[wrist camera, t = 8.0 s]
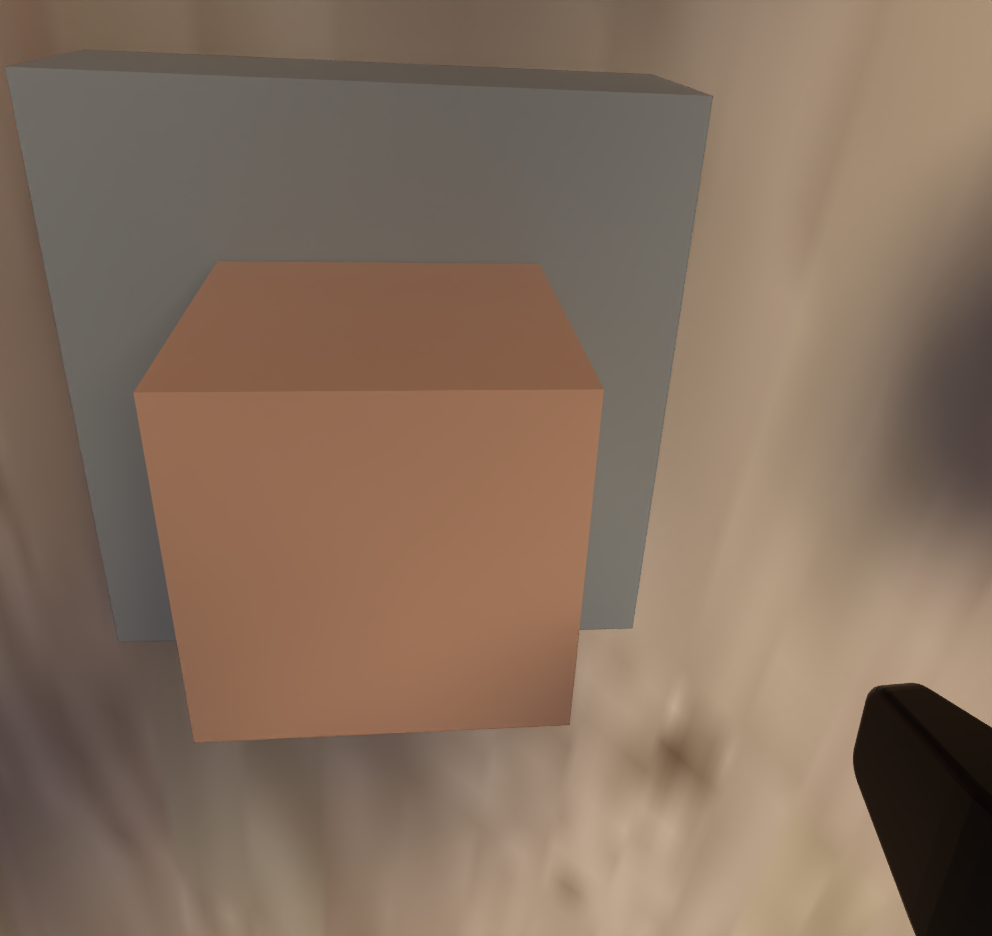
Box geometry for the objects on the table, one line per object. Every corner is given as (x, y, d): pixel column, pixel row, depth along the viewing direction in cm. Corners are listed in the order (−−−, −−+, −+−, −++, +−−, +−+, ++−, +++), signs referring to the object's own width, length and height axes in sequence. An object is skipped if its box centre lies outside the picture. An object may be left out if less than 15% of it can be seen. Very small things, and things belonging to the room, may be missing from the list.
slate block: (646, 72, 17) (713, 95, 13) (593, 523, 21) (632, 628, 18) (92, 48, 16) (4, 66, 12) (166, 528, 20) (118, 642, 17)
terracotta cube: (539, 263, 14) (603, 389, 10) (523, 528, 17) (569, 724, 12) (217, 260, 14) (132, 392, 9) (248, 535, 16) (193, 742, 12)
